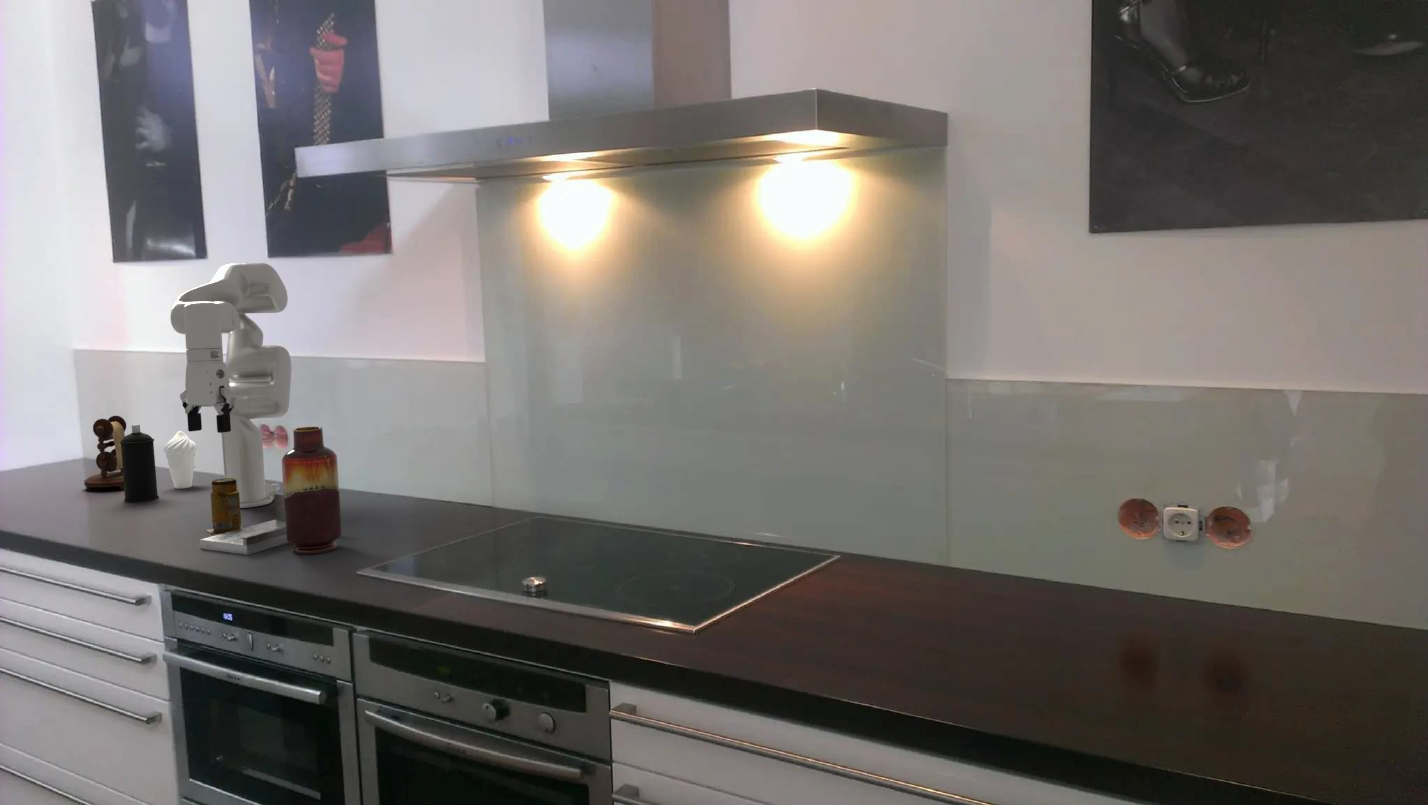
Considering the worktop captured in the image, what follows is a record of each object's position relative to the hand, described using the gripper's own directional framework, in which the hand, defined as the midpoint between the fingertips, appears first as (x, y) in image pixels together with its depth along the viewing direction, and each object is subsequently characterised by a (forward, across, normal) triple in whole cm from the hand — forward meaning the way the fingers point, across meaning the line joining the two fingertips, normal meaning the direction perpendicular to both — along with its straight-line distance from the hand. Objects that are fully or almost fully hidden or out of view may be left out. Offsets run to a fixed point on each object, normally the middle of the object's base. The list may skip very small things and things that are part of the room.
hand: (209, 431), depth 249 cm
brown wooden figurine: (+21, +74, -26) cm, 82 cm away
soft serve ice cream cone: (+21, +56, -34) cm, 68 cm away
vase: (+24, -34, +3) cm, 42 cm away
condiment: (+24, -2, -1) cm, 24 cm away
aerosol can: (+22, +51, -18) cm, 58 cm away
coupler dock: (+24, -17, +1) cm, 29 cm away
